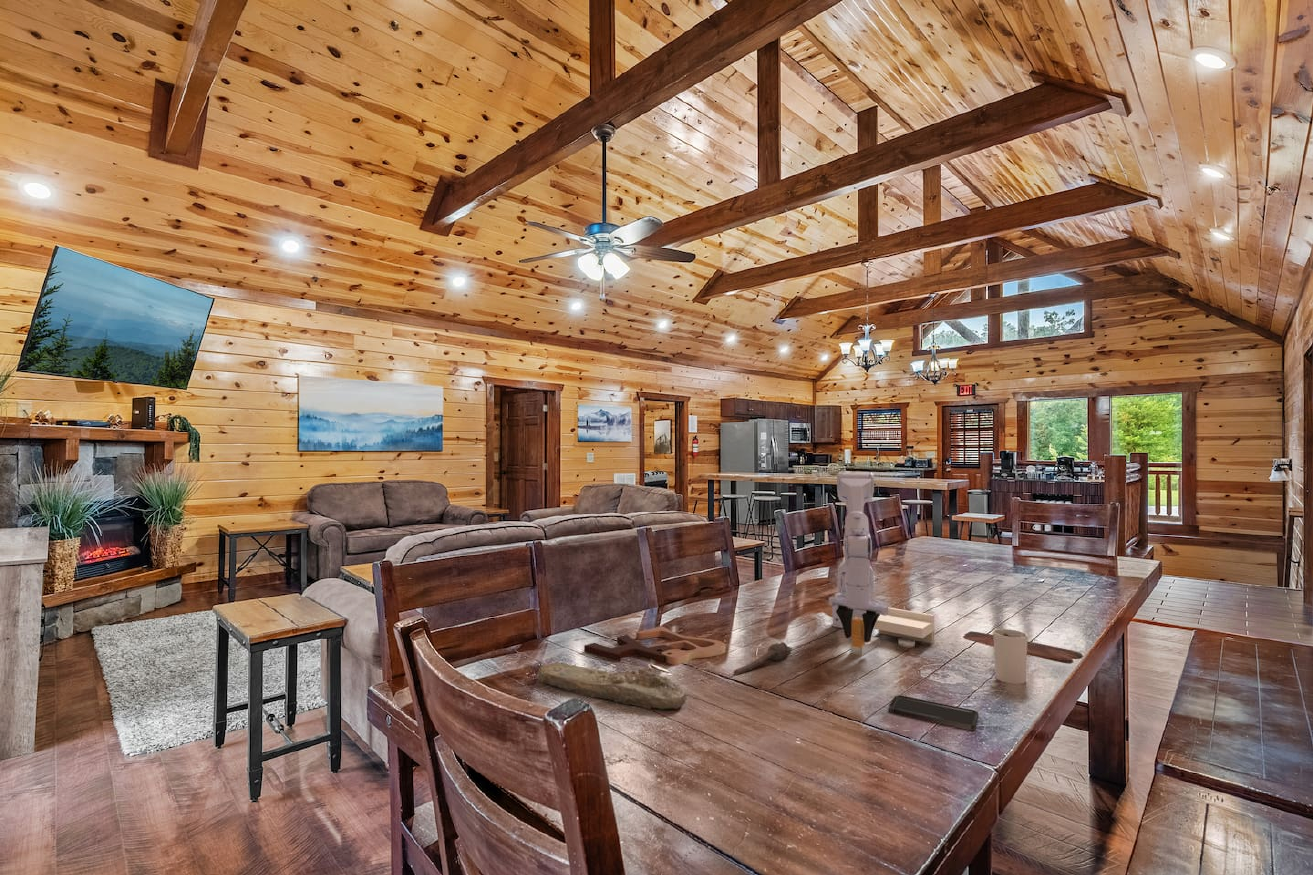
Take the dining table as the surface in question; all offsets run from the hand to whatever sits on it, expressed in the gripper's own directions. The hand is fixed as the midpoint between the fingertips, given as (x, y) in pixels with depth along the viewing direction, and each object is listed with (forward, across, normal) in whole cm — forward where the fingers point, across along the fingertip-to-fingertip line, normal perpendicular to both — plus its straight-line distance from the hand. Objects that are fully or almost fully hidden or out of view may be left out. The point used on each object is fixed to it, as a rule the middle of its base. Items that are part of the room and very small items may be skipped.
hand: (857, 639), depth 152 cm
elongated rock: (+4, -29, -58) cm, 65 cm away
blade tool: (+3, 0, +4) cm, 6 cm away
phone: (+4, +25, -24) cm, 35 cm away
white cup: (+4, +32, +6) cm, 33 cm away
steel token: (+4, +7, +14) cm, 16 cm away
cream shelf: (+3, +4, +18) cm, 18 cm away
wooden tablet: (+4, +28, +33) cm, 44 cm away
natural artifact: (+4, -14, -21) cm, 26 cm away
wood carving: (+4, -38, -32) cm, 50 cm away
